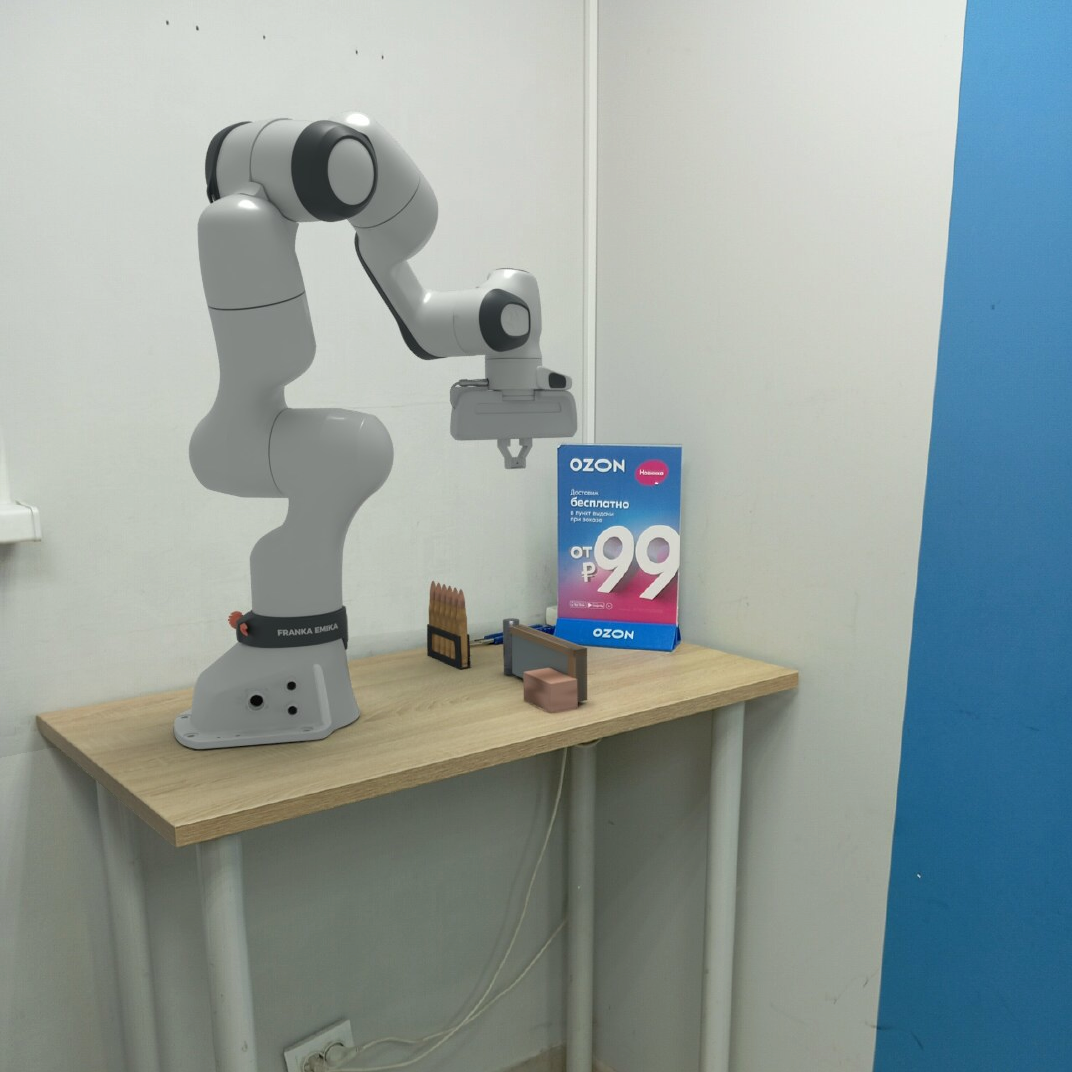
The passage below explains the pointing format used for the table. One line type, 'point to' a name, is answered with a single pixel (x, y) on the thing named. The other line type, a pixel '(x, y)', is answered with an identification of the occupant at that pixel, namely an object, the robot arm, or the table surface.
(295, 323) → the robot arm
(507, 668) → the hinge post
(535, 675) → the block
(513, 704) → the table surface
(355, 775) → the table surface
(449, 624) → the ammunition clip
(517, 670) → the gate
